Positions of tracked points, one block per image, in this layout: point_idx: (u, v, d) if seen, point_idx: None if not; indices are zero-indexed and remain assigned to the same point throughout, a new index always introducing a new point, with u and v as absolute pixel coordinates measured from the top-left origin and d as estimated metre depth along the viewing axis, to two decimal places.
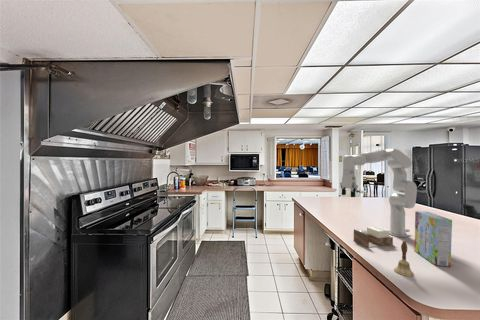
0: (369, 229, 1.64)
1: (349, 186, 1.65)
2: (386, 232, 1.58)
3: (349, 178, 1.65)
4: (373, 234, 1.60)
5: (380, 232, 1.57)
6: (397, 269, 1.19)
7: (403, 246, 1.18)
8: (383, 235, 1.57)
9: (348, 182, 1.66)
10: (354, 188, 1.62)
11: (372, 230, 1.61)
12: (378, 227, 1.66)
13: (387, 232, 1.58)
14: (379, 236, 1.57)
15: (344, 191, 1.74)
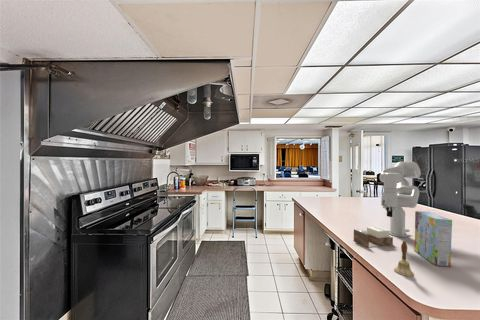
0: (369, 229, 1.64)
1: (396, 204, 1.63)
2: (386, 232, 1.58)
3: (396, 196, 1.63)
4: (373, 234, 1.60)
5: (380, 232, 1.57)
6: (397, 269, 1.19)
7: (403, 246, 1.18)
8: (383, 235, 1.57)
9: (395, 200, 1.63)
10: (394, 207, 1.64)
11: (372, 230, 1.61)
12: (378, 227, 1.66)
13: (387, 232, 1.58)
14: (379, 236, 1.57)
15: None
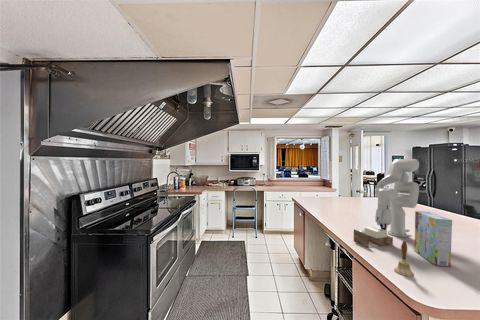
0: (367, 229, 1.63)
1: (390, 221, 1.62)
2: (383, 232, 1.57)
3: (390, 213, 1.62)
4: (371, 234, 1.60)
5: (378, 232, 1.56)
6: (397, 269, 1.19)
7: (403, 246, 1.18)
8: (381, 235, 1.57)
9: (389, 217, 1.62)
10: (388, 224, 1.63)
11: (370, 230, 1.61)
12: (376, 227, 1.65)
13: (385, 232, 1.58)
14: (377, 236, 1.56)
15: None
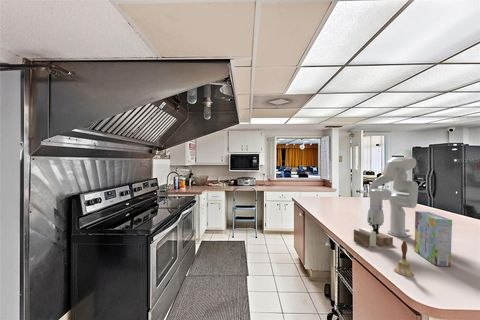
0: None
1: (382, 222, 1.61)
2: (371, 236, 1.54)
3: (382, 213, 1.61)
4: None
5: (371, 243, 1.54)
6: (397, 269, 1.19)
7: (403, 246, 1.18)
8: (373, 239, 1.55)
9: (381, 218, 1.60)
10: (380, 224, 1.62)
11: None
12: (361, 231, 1.61)
13: (371, 234, 1.54)
14: (374, 244, 1.55)
15: None
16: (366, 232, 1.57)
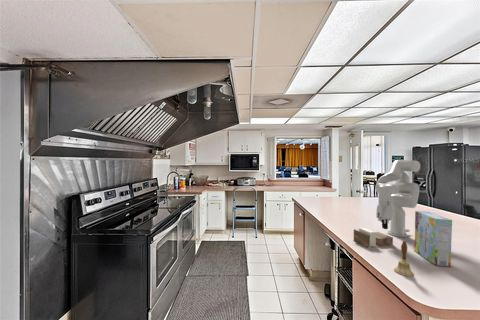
0: None
1: (391, 216, 1.63)
2: (371, 236, 1.54)
3: (391, 208, 1.63)
4: None
5: (371, 243, 1.54)
6: (397, 269, 1.19)
7: (403, 246, 1.18)
8: (373, 239, 1.55)
9: (390, 213, 1.62)
10: (389, 219, 1.64)
11: None
12: (361, 231, 1.61)
13: (371, 234, 1.54)
14: (374, 244, 1.55)
15: None
16: (366, 232, 1.57)
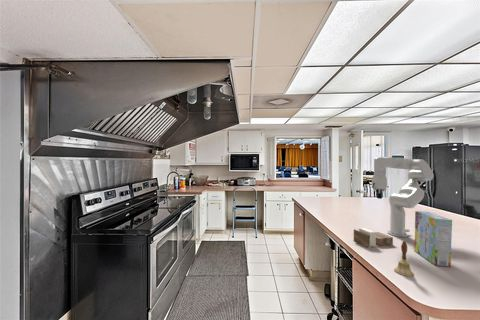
0: None
1: (385, 187, 1.72)
2: (371, 236, 1.54)
3: (386, 179, 1.72)
4: None
5: (371, 243, 1.54)
6: (397, 269, 1.19)
7: (403, 246, 1.18)
8: (373, 239, 1.55)
9: (385, 183, 1.72)
10: (383, 189, 1.73)
11: None
12: (361, 231, 1.61)
13: (371, 234, 1.54)
14: (374, 244, 1.55)
15: None
16: (366, 232, 1.57)
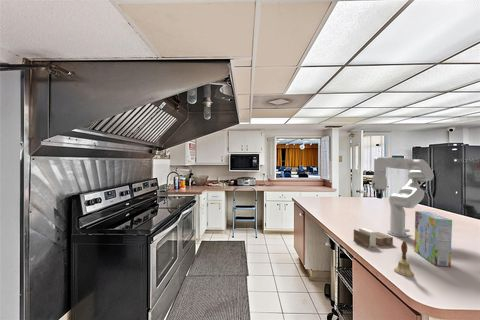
0: None
1: (385, 187, 1.72)
2: (371, 236, 1.54)
3: (386, 179, 1.72)
4: None
5: (371, 243, 1.54)
6: (397, 269, 1.19)
7: (403, 246, 1.18)
8: (373, 239, 1.55)
9: (385, 183, 1.72)
10: (383, 189, 1.73)
11: None
12: (361, 231, 1.61)
13: (371, 234, 1.54)
14: (374, 244, 1.55)
15: None
16: (366, 232, 1.57)
